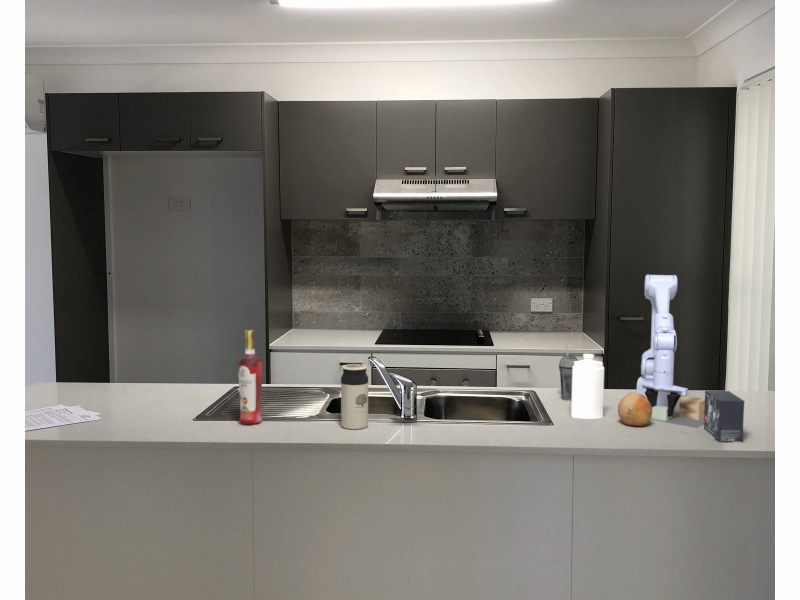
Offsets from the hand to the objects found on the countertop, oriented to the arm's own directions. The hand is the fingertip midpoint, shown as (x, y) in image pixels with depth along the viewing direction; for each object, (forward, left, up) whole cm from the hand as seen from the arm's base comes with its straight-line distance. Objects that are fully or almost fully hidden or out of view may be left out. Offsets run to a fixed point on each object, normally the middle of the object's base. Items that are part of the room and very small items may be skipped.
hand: (661, 414), depth 220 cm
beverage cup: (-35, +5, -2) cm, 35 cm away
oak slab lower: (+6, +9, -1) cm, 11 cm away
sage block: (0, 0, -1) cm, 1 cm away
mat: (+5, +5, -2) cm, 7 cm away
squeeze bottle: (-18, -14, -2) cm, 23 cm away
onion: (-3, -13, -2) cm, 13 cm away
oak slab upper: (+6, +9, +2) cm, 11 cm away
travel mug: (-63, -71, -2) cm, 95 cm away
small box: (+20, -6, -2) cm, 21 cm away
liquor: (-88, -90, -2) cm, 126 cm away
